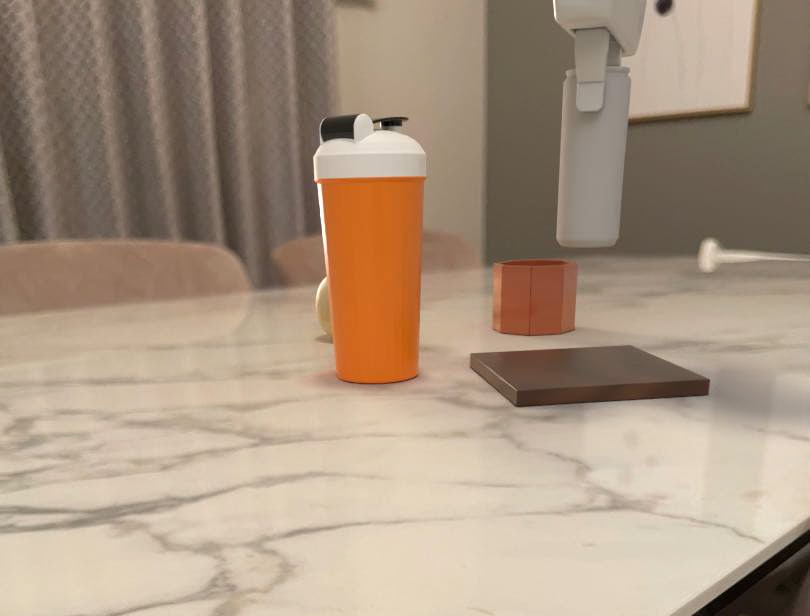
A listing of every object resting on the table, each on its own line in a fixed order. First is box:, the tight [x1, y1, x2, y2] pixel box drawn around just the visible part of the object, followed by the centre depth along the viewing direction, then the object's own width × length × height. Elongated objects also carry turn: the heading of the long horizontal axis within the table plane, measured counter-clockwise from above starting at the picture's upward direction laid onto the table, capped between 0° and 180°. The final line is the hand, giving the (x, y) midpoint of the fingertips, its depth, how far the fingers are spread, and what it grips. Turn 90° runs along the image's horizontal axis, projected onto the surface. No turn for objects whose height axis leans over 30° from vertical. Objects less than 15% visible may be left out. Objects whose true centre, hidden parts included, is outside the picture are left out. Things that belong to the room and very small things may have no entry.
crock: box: [492, 258, 579, 336], centre depth 92 cm, size 8×8×7 cm
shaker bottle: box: [312, 113, 428, 384], centre depth 69 cm, size 9×9×20 cm
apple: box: [315, 276, 333, 338], centre depth 90 cm, size 8×8×8 cm
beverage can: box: [556, 65, 632, 249], centre depth 63 cm, size 5×5×12 cm
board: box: [469, 344, 711, 407], centre depth 69 cm, size 15×15×1 cm
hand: (595, 114), depth 62 cm, fingers closed on beverage can, 5 cm apart
